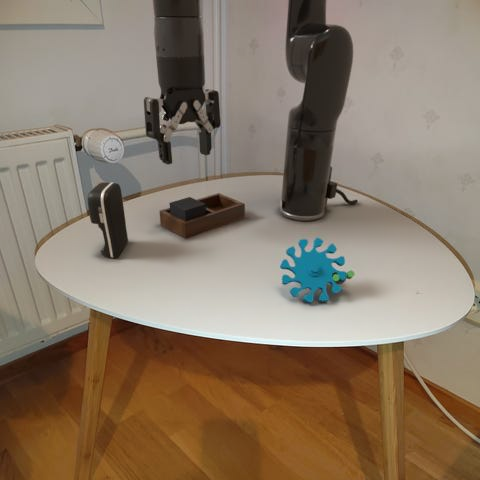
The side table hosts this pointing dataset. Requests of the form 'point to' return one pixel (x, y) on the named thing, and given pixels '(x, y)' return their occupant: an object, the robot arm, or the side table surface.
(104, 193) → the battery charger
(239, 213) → the wooden divided tray
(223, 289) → the side table surface
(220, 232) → the side table surface
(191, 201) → the black block
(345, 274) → the gear
